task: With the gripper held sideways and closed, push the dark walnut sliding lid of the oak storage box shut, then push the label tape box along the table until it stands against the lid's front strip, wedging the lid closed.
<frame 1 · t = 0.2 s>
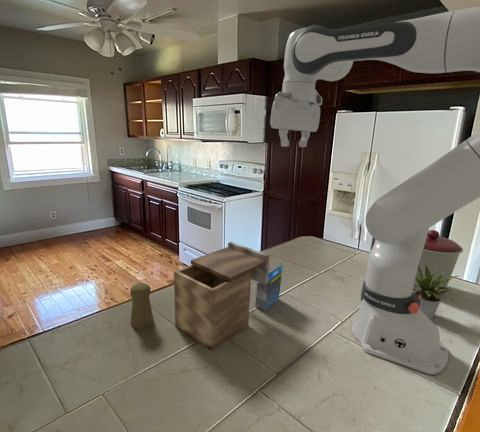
hand: (293, 146, 90), 47 cm above the countertop, tool pointing down, fingers open, 8 cm apart
storage box: (212, 325, 85), on the countertop
cork: (142, 322, 86), on the countertop
canister: (422, 287, 112), on the countertop
sliding lid: (230, 269, 86), point 14 cm above the countertop, slide at 6.0 cm
supplement box: (377, 268, 126), on the countertop
house plant: (418, 313, 95), on the countertop
label tape box: (267, 303, 97), on the countertop
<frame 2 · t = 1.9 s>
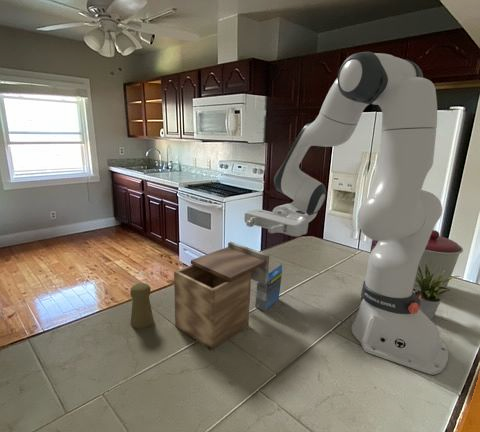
hand: (258, 227, 92), 24 cm above the countertop, tool horizontal, fingers open, 7 cm apart
nothing on the countertop moved.
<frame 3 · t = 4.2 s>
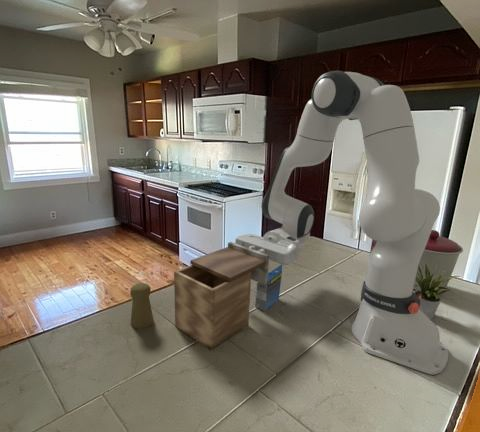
hand: (248, 255, 91), 16 cm above the countertop, tool horizontal, fingers closed, pressing on sliding lid
sliding lid: (229, 270, 86), point 14 cm above the countertop, slide at 5.9 cm, touching gripper
everything else where it was.
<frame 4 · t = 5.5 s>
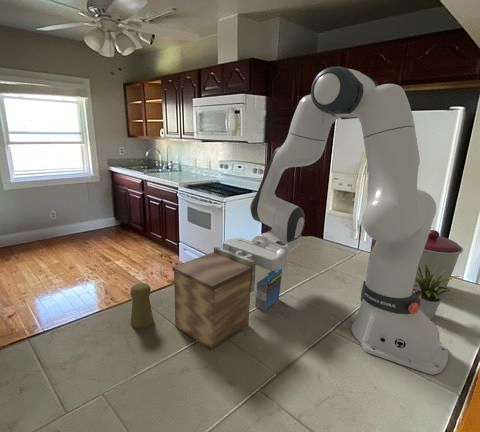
hand: (235, 260, 87), 16 cm above the countertop, tool horizontal, fingers closed, pressing on sliding lid
sliding lid: (214, 277, 81), point 14 cm above the countertop, slide at 0.0 cm, touching gripper
everything else where it was.
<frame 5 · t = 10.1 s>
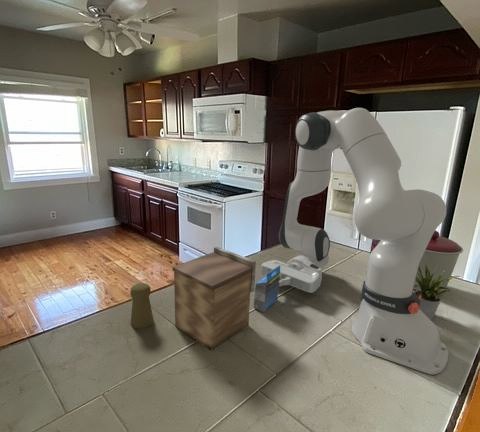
hand: (275, 283, 98), 6 cm above the countertop, tool horizontal, fingers closed
sliding lid: (214, 276, 81), point 14 cm above the countertop, slide at 0.0 cm
label tape box: (266, 304, 96), on the countertop, touching gripper
everything else where it was.
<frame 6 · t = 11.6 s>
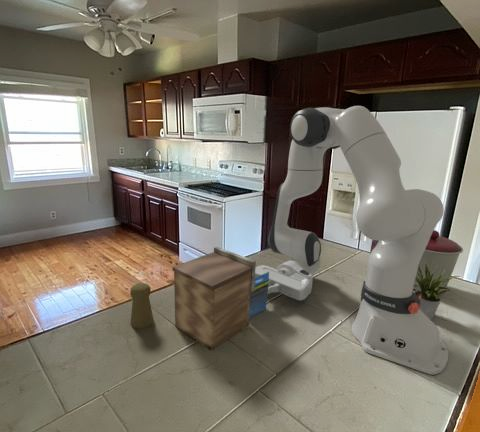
hand: (263, 290, 94), 5 cm above the countertop, tool horizontal, fingers closed
label tape box: (252, 312, 92), on the countertop, touching gripper
everything else where it was.
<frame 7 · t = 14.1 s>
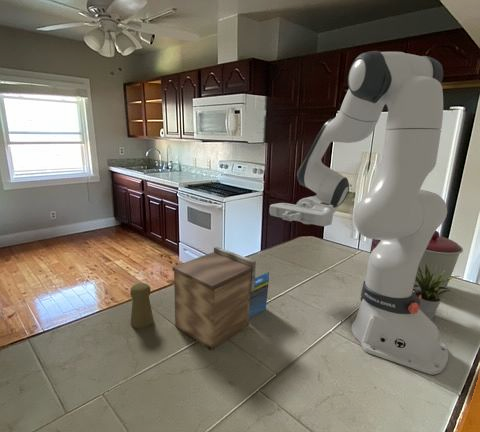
hand: (286, 217, 95), 26 cm above the countertop, tool horizontal, fingers closed
label tape box: (252, 312, 92), on the countertop
everything else where it was.
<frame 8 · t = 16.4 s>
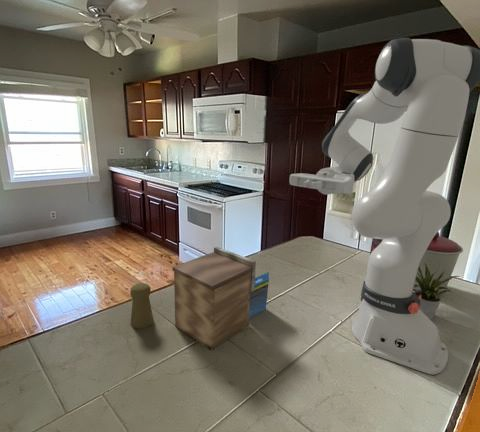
hand: (308, 185, 95), 36 cm above the countertop, tool horizontal, fingers closed
nothing on the countertop moved.
at the end: sliding lid slide at 0.0 cm; label tape box inside the target area on the countertop beside the storage box (1.3 cm from its centre), on the countertop; label tape box tilted 0° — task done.
